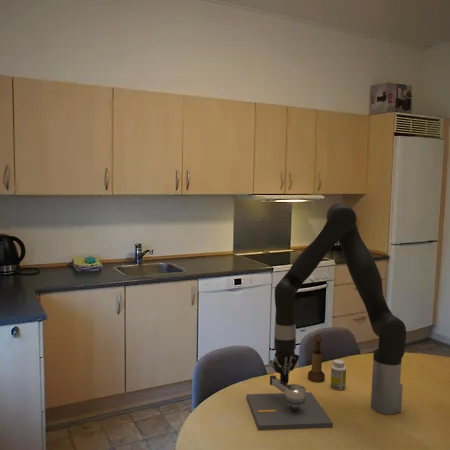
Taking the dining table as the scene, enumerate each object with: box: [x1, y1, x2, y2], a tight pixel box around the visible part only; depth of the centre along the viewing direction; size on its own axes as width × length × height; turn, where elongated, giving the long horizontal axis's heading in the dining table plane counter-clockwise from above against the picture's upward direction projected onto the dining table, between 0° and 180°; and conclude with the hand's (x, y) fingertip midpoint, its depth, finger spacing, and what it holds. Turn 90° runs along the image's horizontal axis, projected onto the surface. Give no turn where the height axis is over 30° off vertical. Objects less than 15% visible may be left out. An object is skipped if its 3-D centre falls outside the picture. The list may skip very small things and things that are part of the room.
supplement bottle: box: [330, 359, 347, 391], centre depth 174 cm, size 6×6×10 cm
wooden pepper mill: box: [307, 334, 326, 383], centre depth 181 cm, size 7×6×18 cm
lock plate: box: [246, 391, 334, 431], centre depth 153 cm, size 24×22×2 cm
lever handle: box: [269, 375, 307, 412], centre depth 156 cm, size 17×7×7 cm, turn 30°
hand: (284, 383), depth 160 cm, fingers closed
